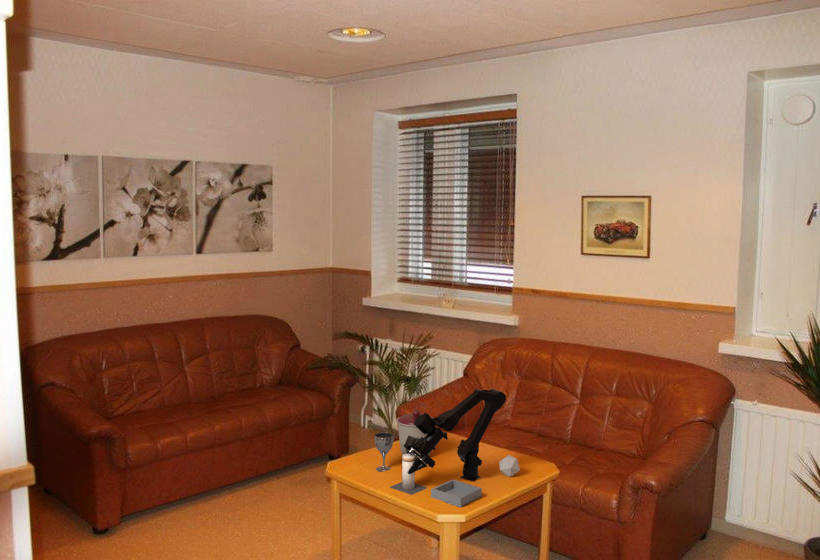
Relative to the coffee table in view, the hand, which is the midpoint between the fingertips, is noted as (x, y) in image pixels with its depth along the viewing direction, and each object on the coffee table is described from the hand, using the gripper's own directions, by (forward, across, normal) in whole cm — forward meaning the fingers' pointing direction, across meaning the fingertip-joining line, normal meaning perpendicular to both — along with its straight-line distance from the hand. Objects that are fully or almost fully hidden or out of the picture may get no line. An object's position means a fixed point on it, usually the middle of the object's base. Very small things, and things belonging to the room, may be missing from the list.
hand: (405, 471), depth 291 cm
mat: (+4, 0, +6) cm, 7 cm away
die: (-28, +3, +38) cm, 48 cm away
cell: (+4, 0, +6) cm, 7 cm away
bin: (-5, +16, +15) cm, 23 cm away
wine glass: (+4, -24, +6) cm, 25 cm away
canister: (-10, -35, +20) cm, 42 cm away
